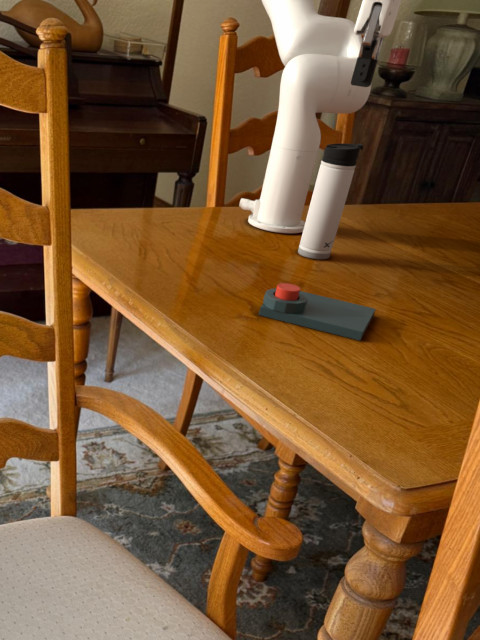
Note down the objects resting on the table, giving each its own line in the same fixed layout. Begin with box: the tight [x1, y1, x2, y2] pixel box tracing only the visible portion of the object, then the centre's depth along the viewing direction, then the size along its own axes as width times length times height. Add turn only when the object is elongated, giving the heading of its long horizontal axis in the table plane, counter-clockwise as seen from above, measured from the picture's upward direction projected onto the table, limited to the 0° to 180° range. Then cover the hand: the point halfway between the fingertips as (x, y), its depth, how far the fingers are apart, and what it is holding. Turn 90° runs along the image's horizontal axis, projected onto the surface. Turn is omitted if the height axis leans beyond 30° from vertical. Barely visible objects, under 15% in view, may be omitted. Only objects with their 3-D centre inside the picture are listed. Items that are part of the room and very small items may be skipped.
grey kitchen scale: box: [258, 287, 376, 341], centre depth 115 cm, size 16×12×3 cm
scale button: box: [275, 282, 301, 301], centre depth 114 cm, size 4×4×2 cm
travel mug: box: [297, 143, 364, 261], centre depth 137 cm, size 6×7×20 cm
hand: (360, 85), depth 126 cm, fingers closed
